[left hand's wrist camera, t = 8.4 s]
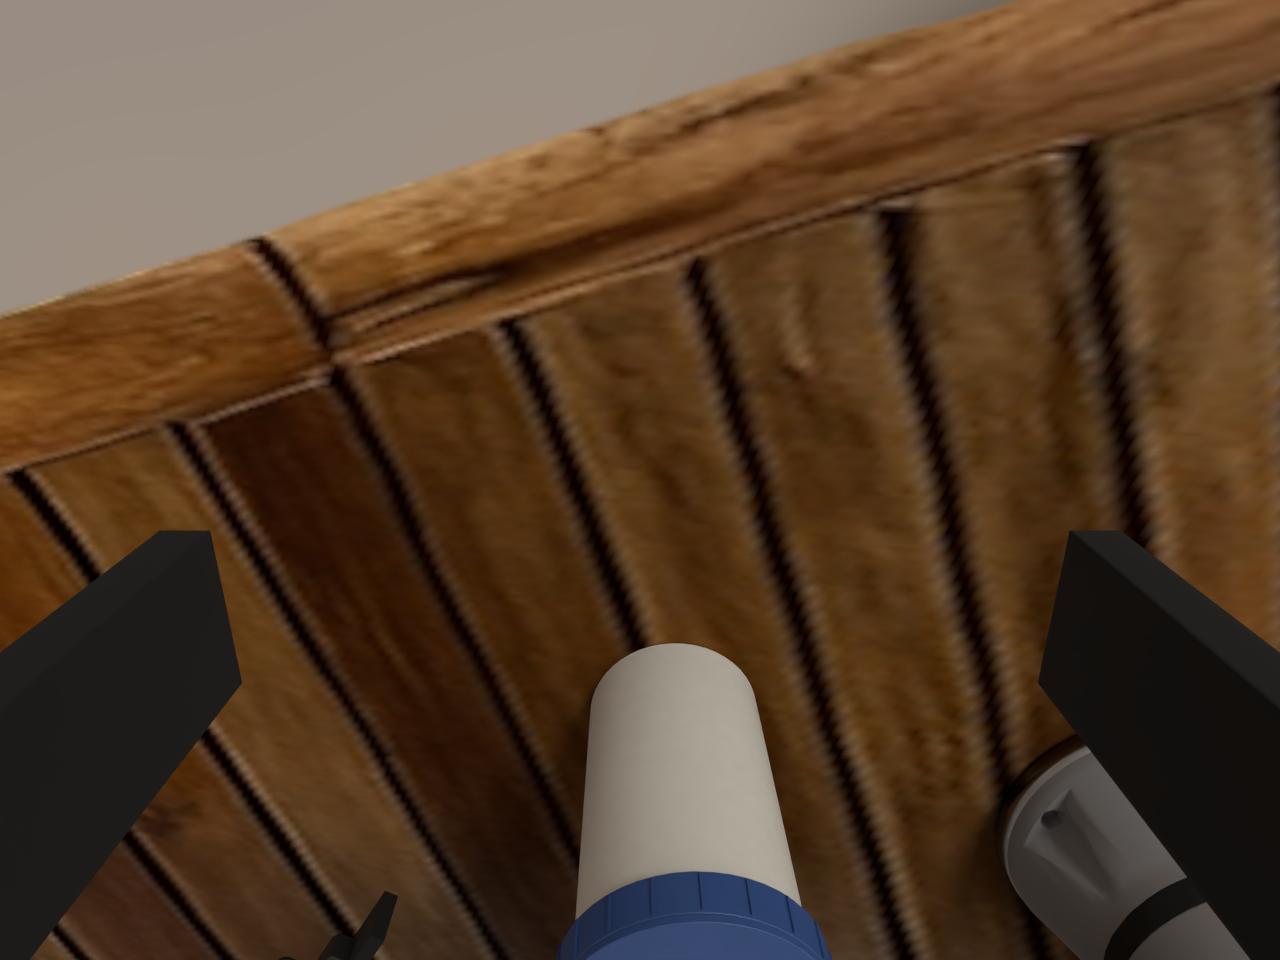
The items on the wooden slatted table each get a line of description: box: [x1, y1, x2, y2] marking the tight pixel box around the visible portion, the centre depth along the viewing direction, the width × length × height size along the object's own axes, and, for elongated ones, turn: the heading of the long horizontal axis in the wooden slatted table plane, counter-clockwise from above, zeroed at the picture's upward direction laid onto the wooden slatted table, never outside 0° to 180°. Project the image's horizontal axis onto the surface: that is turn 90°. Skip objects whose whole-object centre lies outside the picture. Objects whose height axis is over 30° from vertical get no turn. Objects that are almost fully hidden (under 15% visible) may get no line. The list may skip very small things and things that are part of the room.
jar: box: [575, 643, 802, 920], centre depth 38 cm, size 9×9×17 cm
